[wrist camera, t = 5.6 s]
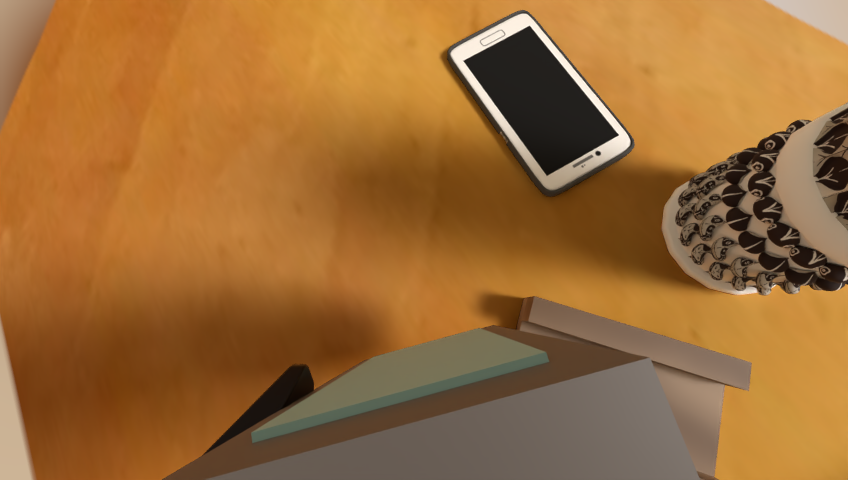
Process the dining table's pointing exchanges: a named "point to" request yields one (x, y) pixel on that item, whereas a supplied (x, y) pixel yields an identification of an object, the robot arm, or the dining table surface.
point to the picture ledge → (674, 364)
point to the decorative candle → (768, 213)
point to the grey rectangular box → (469, 418)
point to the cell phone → (539, 103)
